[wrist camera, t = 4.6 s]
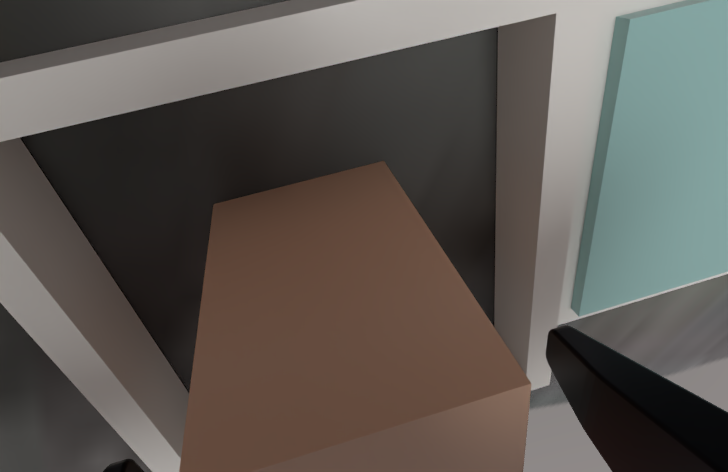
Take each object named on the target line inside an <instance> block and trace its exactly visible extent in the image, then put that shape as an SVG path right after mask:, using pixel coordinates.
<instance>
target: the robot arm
mask: <svg viewBox="0 0 728 472" xmlns="http://www.w3.org/2000/svg"><path fill="white" fill-rule="evenodd" d="M546 359H547V362H548V364H549V366H550V368H551V370H552V372H553V374H554V376H555V377H556V379H557V381H558V383H559V385H560V387H561V389H562V390H563V392H564V394H565V396H566V398H567V400H568V401H569V403H570V405H571V407H572V409H573V411H574V413H575V414H576V416H577V418H578V420H579V422H580V423H581V425H582V427H583V429H584V430H585V432H586V433H587V435H588V436H589V438H590V439H591V441H592V442H593V444H594V445H595V447H596V448H597V450H598V451H599V453H600V454H601V456H602V457H603V459H604V460H605V461H606V463H607V464H608V466H609V467H610V469H611V470H612V472H728V412H726V411H724V410H722V409H721V408H719V407H717V406H715V405H713V404H712V403H710V402H708V401H706V400H704V399H702V398H701V397H699V396H697V395H695V394H693V393H692V392H690V391H688V390H686V389H684V388H682V387H681V386H679V385H677V384H675V383H673V382H671V381H670V380H668V379H666V378H664V377H662V376H660V375H659V374H657V373H655V372H653V371H651V370H649V369H648V368H646V367H644V366H642V365H640V364H638V363H637V362H635V361H633V360H631V359H629V358H627V357H626V356H624V355H622V354H620V353H618V352H616V351H615V350H613V349H611V348H609V347H607V346H606V345H604V344H602V343H600V342H598V341H596V340H595V339H593V338H591V337H589V336H587V335H585V334H584V333H582V332H580V331H578V330H576V329H574V328H573V327H570V326H566V325H565V326H561V327H557V328H554V329H551V330H550V331H549V332H548V338H547V346H546ZM103 472H144V471H143V470H142V469H141V468H140V467H139V466H138V465H137V463H136V462H135V461H134V460H132V459H125V460H122V461H119V462H115V463H112V464H110V465H109V466H108V467H107V468H106V469H105V470H104V471H103Z"/></svg>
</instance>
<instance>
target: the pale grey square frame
mask: <svg viewBox="0 0 728 472" xmlns="http://www.w3.org/2000/svg"><path fill="white" fill-rule="evenodd" d="M600 6H601V0H289V1H284V2H279V3H275V4H270V5H265V6H261V7H256V8H251V9H247V10H242V11H238V12H233V13H228V14H224V15H219V16H214V17H210V18H205V19H200V20H196V21H191V22H186V23H182V24H177V25H172V26H168V27H163V28H159V29H154V30H149V31H145V32H140V33H135V34H131V35H126V36H121V37H117V38H112V39H107V40H103V41H98V42H93V43H89V44H84V45H79V46H75V47H70V48H66V49H61V50H56V51H52V52H47V53H42V54H38V55H33V56H28V57H24V58H19V59H14V60H10V61H5V62H0V303H1V304H2V305H3V306H4V307H5V308H6V310H7V311H8V312H9V313H10V314H11V315H12V316H13V317H14V318H15V320H16V321H17V322H18V323H19V324H20V325H21V326H22V327H23V328H24V330H25V331H26V332H27V333H28V334H29V335H30V336H31V337H32V338H33V340H34V341H35V342H36V343H37V344H38V345H39V346H40V347H41V348H42V350H43V351H44V352H45V353H46V354H47V355H48V356H49V357H50V358H51V360H52V361H53V362H54V363H55V364H56V365H57V366H58V367H59V368H60V370H61V371H62V372H63V373H64V374H65V375H66V376H67V377H68V379H69V380H70V381H71V382H72V383H73V384H74V385H75V386H76V387H77V389H78V390H79V391H80V392H81V393H82V394H83V395H84V396H85V397H86V399H87V400H88V401H89V402H90V403H91V404H92V405H93V406H94V407H95V409H96V410H97V411H98V412H99V413H100V414H101V415H102V416H103V417H104V419H105V420H106V421H107V422H108V423H109V424H110V425H111V426H112V427H113V429H114V430H115V431H116V432H117V433H118V434H119V435H120V436H121V437H122V439H123V440H124V441H125V442H126V443H127V444H128V445H129V446H130V447H131V449H132V450H133V451H134V452H135V453H136V454H137V455H138V456H139V457H140V459H141V460H142V461H143V462H144V463H145V464H146V465H147V466H148V468H149V469H150V470H151V471H152V472H179V469H180V461H181V454H182V446H183V438H184V430H185V422H186V415H187V407H188V399H189V393H188V391H187V390H186V388H185V387H184V385H183V384H182V382H181V381H180V379H179V378H178V376H177V375H176V373H175V372H174V370H173V368H172V367H171V365H170V364H169V362H168V361H167V359H166V358H165V356H164V355H163V353H162V352H161V350H160V349H159V347H158V346H157V344H156V343H155V341H154V340H153V338H152V337H151V335H150V334H149V332H148V331H147V329H146V328H145V326H144V325H143V323H142V322H141V320H140V319H139V317H138V316H137V314H136V313H135V311H134V310H133V308H132V307H131V305H130V303H129V302H128V300H127V299H126V297H125V296H124V294H123V293H122V291H121V290H120V288H119V287H118V285H117V284H116V282H115V281H114V279H113V278H112V276H111V275H110V273H109V272H108V270H107V269H106V267H105V266H104V264H103V263H102V261H101V260H100V258H99V257H98V255H97V254H96V252H95V251H94V249H93V248H92V246H91V245H90V243H89V242H88V240H87V238H86V237H85V235H84V234H83V232H82V231H81V229H80V228H79V226H78V225H77V223H76V222H75V220H74V219H73V217H72V216H71V214H70V213H69V211H68V210H67V208H66V207H65V205H64V204H63V202H62V201H61V199H60V198H59V196H58V195H57V193H56V192H55V190H54V189H53V187H52V186H51V184H50V183H49V181H48V180H47V178H46V177H45V175H44V173H43V172H42V170H41V169H40V167H39V166H38V164H37V163H36V161H35V160H34V158H33V157H32V155H31V154H30V152H29V151H28V149H27V148H26V146H25V145H24V143H23V142H22V140H21V139H20V137H24V136H28V135H32V134H37V133H41V132H45V131H50V130H54V129H58V128H63V127H67V126H71V125H76V124H80V123H84V122H89V121H93V120H97V119H101V118H106V117H110V116H114V115H119V114H123V113H127V112H132V111H136V110H140V109H145V108H149V107H153V106H158V105H162V104H166V103H171V102H175V101H179V100H184V99H188V98H192V97H197V96H201V95H205V94H210V93H214V92H218V91H222V90H227V89H231V88H235V87H240V86H244V85H248V84H253V83H257V82H261V81H266V80H270V79H274V78H279V77H283V76H287V75H292V74H296V73H300V72H305V71H309V70H313V69H318V68H322V67H326V66H331V65H335V64H339V63H343V62H348V61H352V60H356V59H361V58H365V57H369V56H374V55H378V54H382V53H387V52H391V51H395V50H400V49H404V48H408V47H413V46H417V45H421V44H426V43H430V42H434V41H439V40H443V39H447V38H451V37H456V36H460V35H464V34H469V33H473V32H477V31H482V30H486V29H490V28H495V27H498V65H497V143H496V222H495V300H494V328H495V329H496V331H497V332H498V334H499V335H500V337H501V338H502V340H503V341H504V343H505V344H506V346H507V347H508V349H509V350H510V352H511V353H512V355H513V356H514V358H515V359H516V361H517V362H518V364H519V365H520V367H521V368H522V370H523V371H524V373H525V374H526V376H527V377H528V379H529V380H530V382H531V391H532V390H535V389H538V388H541V387H544V386H547V385H550V377H551V368H550V366H549V364H548V362H547V359H546V346H547V338H548V332H549V331H550V330H551V329H554V328H557V325H558V318H559V311H560V303H561V296H562V288H563V281H564V273H565V266H566V259H567V251H568V244H569V236H570V229H571V222H572V214H573V207H574V199H575V192H576V184H577V177H578V170H579V162H580V155H581V147H582V140H583V132H584V125H585V118H586V110H587V103H588V95H589V88H590V81H591V73H592V66H593V58H594V51H595V43H596V36H597V29H598V21H599V14H600Z"/></svg>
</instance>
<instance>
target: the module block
mask: <svg viewBox="0 0 728 472" xmlns="http://www.w3.org/2000/svg"><path fill="white" fill-rule="evenodd" d="M530 393H531V382H530V380H529V379H528V377H527V376H526V374H525V373H524V371H523V370H522V368H521V367H520V365H519V364H518V362H517V361H516V359H515V358H514V356H513V355H512V353H511V352H510V350H509V349H508V347H507V346H506V344H505V343H504V341H503V340H502V338H501V337H500V335H499V334H498V332H497V331H496V329H495V328H494V326H493V325H492V323H491V322H490V320H489V319H488V317H487V316H486V314H485V313H484V311H483V310H482V308H481V307H480V305H479V304H478V302H477V300H476V299H475V297H474V296H473V294H472V293H471V291H470V290H469V288H468V287H467V285H466V284H465V282H464V281H463V279H462V278H461V276H460V275H459V273H458V272H457V270H456V269H455V267H454V266H453V264H452V263H451V261H450V260H449V258H448V257H447V255H446V254H445V252H444V251H443V249H442V248H441V246H440V245H439V243H438V242H437V240H436V239H435V237H434V236H433V234H432V233H431V231H430V230H429V228H428V227H427V225H426V224H425V222H424V221H423V219H422V218H421V216H420V214H419V213H418V211H417V210H416V208H415V207H414V205H413V204H412V202H411V201H410V199H409V198H408V196H407V195H406V193H405V192H404V190H403V189H402V187H401V186H400V184H399V183H398V181H397V180H396V178H395V177H394V175H393V174H392V172H391V171H390V169H389V168H388V166H387V165H386V163H385V162H384V161H381V162H377V163H373V164H369V165H365V166H361V167H357V168H353V169H349V170H346V171H342V172H338V173H334V174H330V175H326V176H322V177H318V178H314V179H310V180H306V181H302V182H299V183H295V184H291V185H287V186H283V187H279V188H275V189H271V190H267V191H263V192H259V193H255V194H252V195H248V196H244V197H240V198H236V199H232V200H228V201H224V202H220V203H216V204H214V205H213V213H212V220H211V228H210V236H209V244H208V251H207V259H206V267H205V275H204V282H203V290H202V298H201V306H200V314H199V321H198V329H197V337H196V345H195V352H194V360H193V368H192V376H191V384H190V391H189V399H188V407H187V415H186V422H185V430H184V438H183V446H182V454H181V461H180V469H179V472H523V466H524V455H525V446H526V435H527V425H528V414H529V404H530Z"/></svg>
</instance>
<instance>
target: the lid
mask: <svg viewBox="0 0 728 472" xmlns="http://www.w3.org/2000/svg"><path fill="white" fill-rule="evenodd" d="M725 274H728V0H601V6H600V14H599V21H598V29H597V36H596V43H595V51H594V58H593V66H592V73H591V81H590V88H589V95H588V103H587V110H586V118H585V125H584V132H583V140H582V147H581V155H580V162H579V170H578V177H577V184H576V192H575V199H574V207H573V214H572V222H571V229H570V236H569V244H568V251H567V259H566V266H565V273H564V281H563V288H562V296H561V303H560V311H559V318H558V325H561V324H564V323H567V322H571V321H574V320H577V319H580V318H584V317H587V316H590V315H594V314H597V313H600V312H604V311H607V310H610V309H613V308H617V307H620V306H623V305H627V304H630V303H633V302H636V301H640V300H643V299H646V298H650V297H653V296H656V295H659V294H663V293H666V292H669V291H673V290H676V289H679V288H683V287H686V286H689V285H692V284H696V283H699V282H702V281H706V280H709V279H712V278H715V277H719V276H722V275H725Z"/></svg>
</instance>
